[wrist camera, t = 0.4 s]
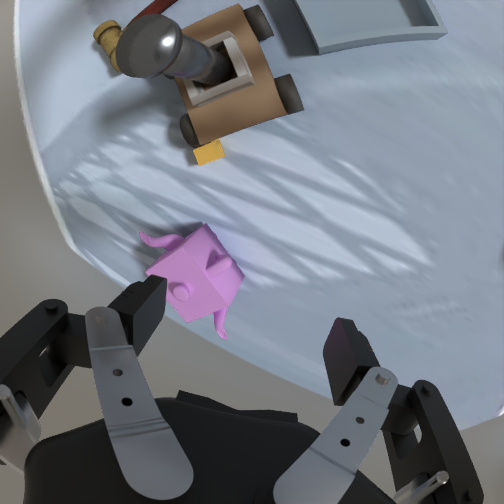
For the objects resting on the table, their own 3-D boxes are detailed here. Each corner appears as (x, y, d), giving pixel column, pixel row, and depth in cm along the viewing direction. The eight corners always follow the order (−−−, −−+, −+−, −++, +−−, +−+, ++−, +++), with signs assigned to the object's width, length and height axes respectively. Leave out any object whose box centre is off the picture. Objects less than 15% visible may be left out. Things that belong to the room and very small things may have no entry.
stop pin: (192, 62, 27) (109, 39, 14) (230, 44, 25) (163, 1, 12) (205, 97, 29) (125, 90, 16) (245, 80, 27) (184, 53, 14)
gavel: (187, -48, 19) (221, -20, 22) (197, -36, 24) (230, -8, 26) (87, 36, 27) (109, 70, 30) (104, 41, 31) (126, 73, 34)
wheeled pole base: (169, 54, 31) (138, 45, 24) (263, 12, 26) (248, -11, 19) (203, 145, 37) (177, 153, 30) (305, 111, 32) (300, 107, 25)
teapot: (262, 237, 42) (243, 275, 32) (243, 303, 48) (223, 346, 39) (172, 207, 43) (133, 234, 34) (166, 273, 50) (134, 308, 40)
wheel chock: (198, 140, 37) (189, 142, 34) (216, 132, 36) (208, 134, 33) (207, 162, 38) (199, 166, 36) (225, 155, 37) (218, 158, 35)
